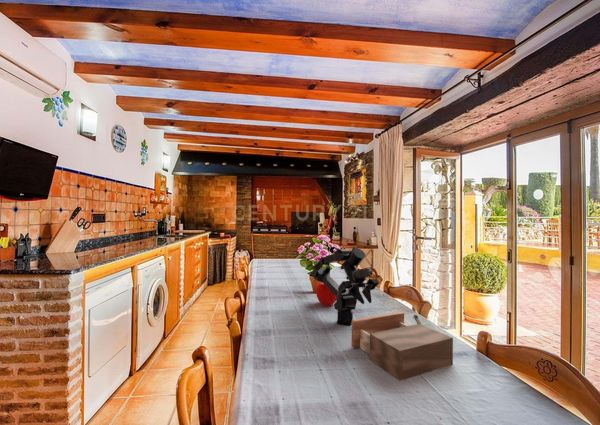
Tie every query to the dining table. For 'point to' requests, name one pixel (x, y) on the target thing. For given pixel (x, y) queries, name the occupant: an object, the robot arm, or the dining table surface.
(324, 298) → the ceramic cup
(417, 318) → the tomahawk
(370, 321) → the drawer
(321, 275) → the robot arm
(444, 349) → the cabinet
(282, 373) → the dining table surface
